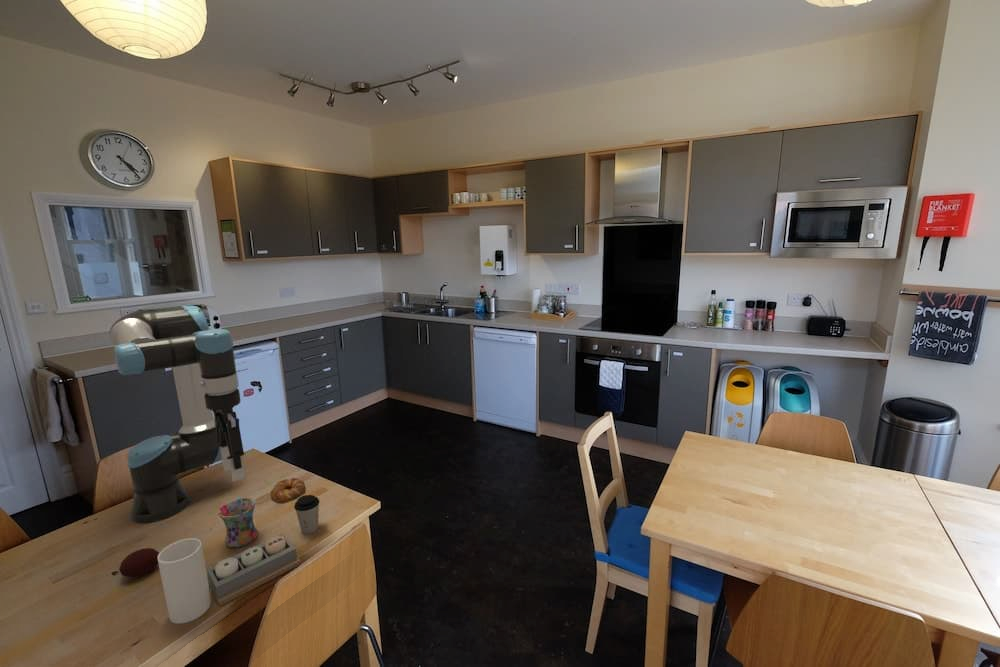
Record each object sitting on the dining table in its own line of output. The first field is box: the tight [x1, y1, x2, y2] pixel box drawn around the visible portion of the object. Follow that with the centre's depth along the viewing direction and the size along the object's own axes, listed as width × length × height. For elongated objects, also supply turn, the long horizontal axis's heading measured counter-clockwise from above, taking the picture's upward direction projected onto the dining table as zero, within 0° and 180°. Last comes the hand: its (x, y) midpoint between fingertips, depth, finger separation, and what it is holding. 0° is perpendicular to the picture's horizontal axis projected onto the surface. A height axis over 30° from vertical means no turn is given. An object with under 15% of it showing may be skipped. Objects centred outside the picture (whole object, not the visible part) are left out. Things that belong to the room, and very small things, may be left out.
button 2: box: [241, 546, 263, 569], centre depth 115 cm, size 5×5×3 cm
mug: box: [217, 497, 259, 548], centre depth 129 cm, size 12×9×11 cm
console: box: [206, 533, 301, 607], centre depth 116 cm, size 12×19×4 cm, turn 136°
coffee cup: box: [294, 494, 320, 535], centre depth 132 cm, size 7×7×10 cm
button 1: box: [215, 557, 239, 581], centre depth 111 cm, size 5×5×3 cm
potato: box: [119, 547, 160, 579], centre depth 116 cm, size 7×8×6 cm
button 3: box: [265, 535, 286, 557], centre depth 119 cm, size 5×5×3 cm
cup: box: [158, 537, 212, 625], centre depth 103 cm, size 8×8×16 cm
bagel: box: [270, 477, 306, 504], centre depth 152 cm, size 12×11×4 cm
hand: (234, 473), depth 117 cm, fingers open, 7 cm apart
